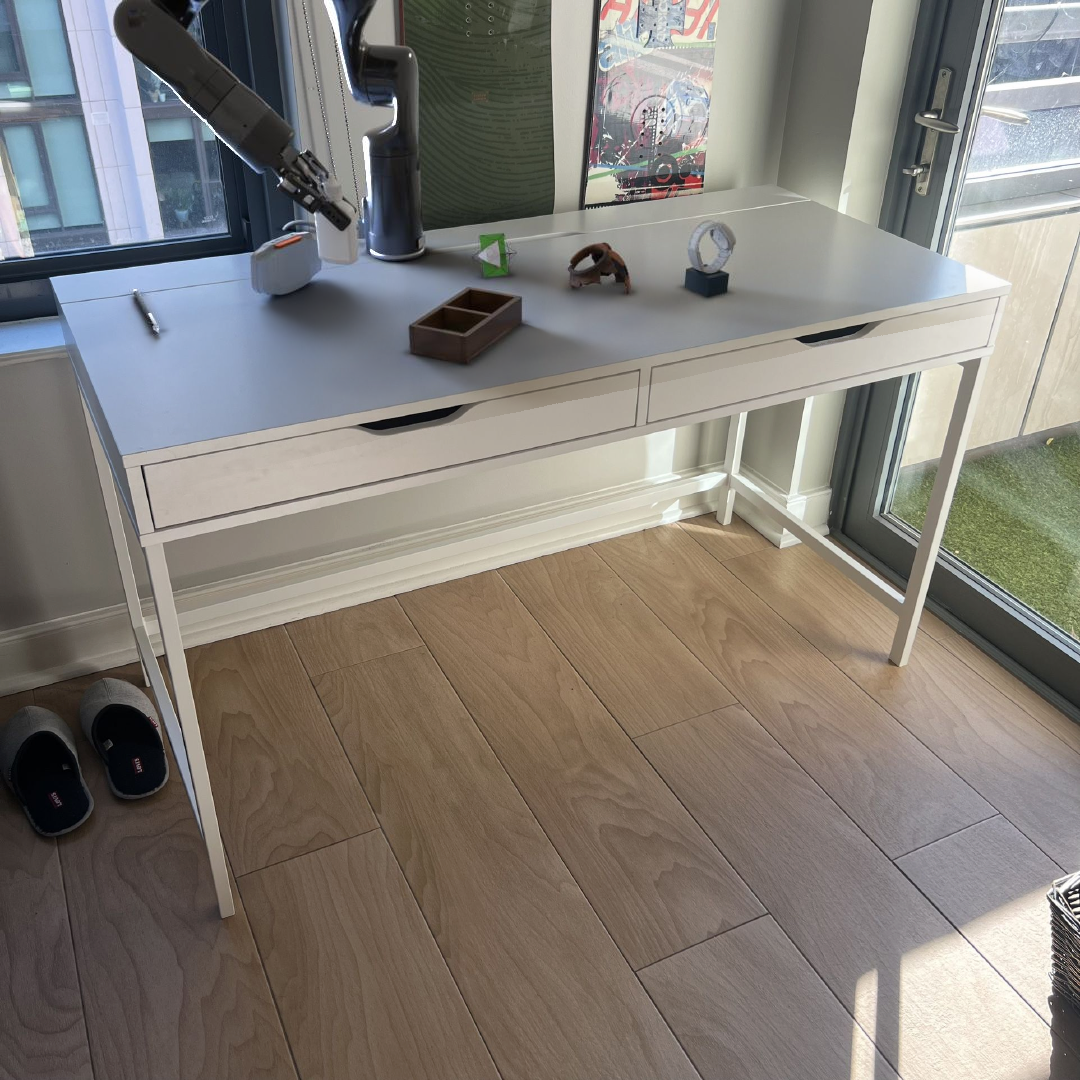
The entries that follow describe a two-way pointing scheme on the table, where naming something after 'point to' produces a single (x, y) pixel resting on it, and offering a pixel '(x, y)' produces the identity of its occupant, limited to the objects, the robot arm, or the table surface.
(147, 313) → the pen
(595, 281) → the broken clay pot
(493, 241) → the geometric puzzle
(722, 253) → the watch
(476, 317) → the brown wooden divided tray
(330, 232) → the eye dropper bottle
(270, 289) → the white plastic case
